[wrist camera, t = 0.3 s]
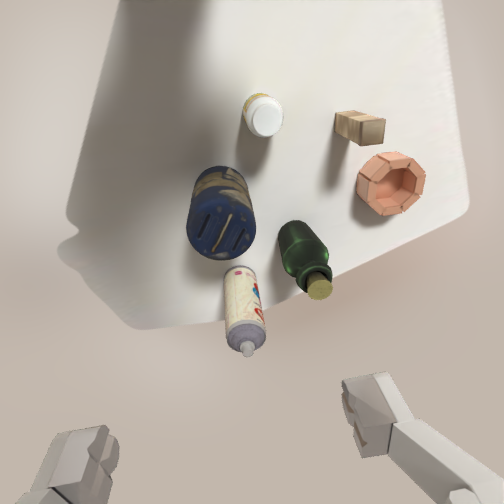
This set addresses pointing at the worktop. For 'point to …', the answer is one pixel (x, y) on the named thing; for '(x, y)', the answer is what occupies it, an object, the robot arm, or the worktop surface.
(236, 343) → the aerosol can
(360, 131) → the tan wooden post
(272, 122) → the supplement bottle
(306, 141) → the worktop surface
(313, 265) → the potion bottle
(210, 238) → the canister
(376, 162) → the terracotta polygonal bowl
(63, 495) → the robot arm
